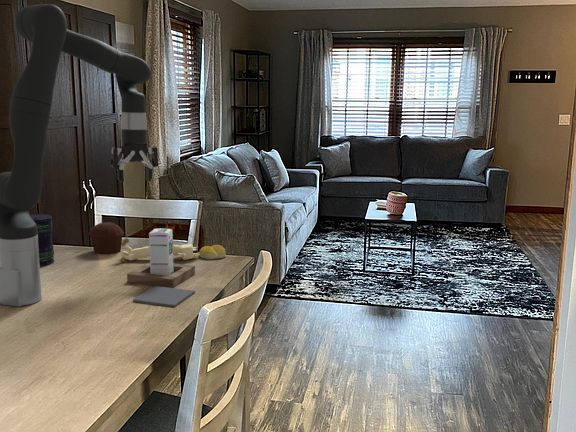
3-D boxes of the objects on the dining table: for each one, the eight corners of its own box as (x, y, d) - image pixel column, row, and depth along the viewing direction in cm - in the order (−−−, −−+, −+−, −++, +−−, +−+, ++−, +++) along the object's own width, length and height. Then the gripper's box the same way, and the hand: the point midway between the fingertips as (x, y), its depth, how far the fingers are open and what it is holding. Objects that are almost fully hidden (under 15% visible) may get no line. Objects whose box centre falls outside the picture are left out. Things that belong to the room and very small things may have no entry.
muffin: (131, 249, 203) (130, 221, 201) (113, 257, 192) (112, 227, 190) (101, 246, 206) (100, 218, 204) (82, 253, 195) (81, 225, 193)
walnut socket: (172, 287, 163) (172, 279, 162) (127, 282, 167) (127, 273, 166) (195, 273, 176) (195, 265, 176) (152, 268, 180) (152, 261, 180)
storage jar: (20, 260, 186) (17, 214, 183) (53, 257, 190) (51, 213, 187) (21, 268, 177) (17, 221, 174) (55, 265, 181) (52, 218, 178)
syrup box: (169, 281, 169) (169, 232, 166) (149, 280, 169) (148, 232, 166) (174, 275, 174) (173, 228, 171) (154, 274, 174) (153, 227, 171)
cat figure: (121, 269, 184) (200, 260, 189) (118, 242, 183) (198, 234, 187) (124, 260, 194) (199, 252, 198) (121, 235, 192) (197, 228, 196)
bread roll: (196, 255, 198) (196, 243, 197) (221, 252, 202) (221, 241, 201) (203, 261, 191) (203, 249, 190) (228, 258, 195) (228, 247, 194)
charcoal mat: (174, 307, 148) (174, 305, 147) (133, 301, 151) (133, 299, 151) (195, 292, 159) (195, 290, 159) (156, 287, 162) (155, 285, 162)
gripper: (115, 128, 166) (116, 184, 169) (161, 128, 175) (161, 181, 178) (106, 127, 172) (107, 181, 175) (151, 127, 181) (152, 178, 184)
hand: (135, 181), depth 177 cm, fingers open, 8 cm apart
